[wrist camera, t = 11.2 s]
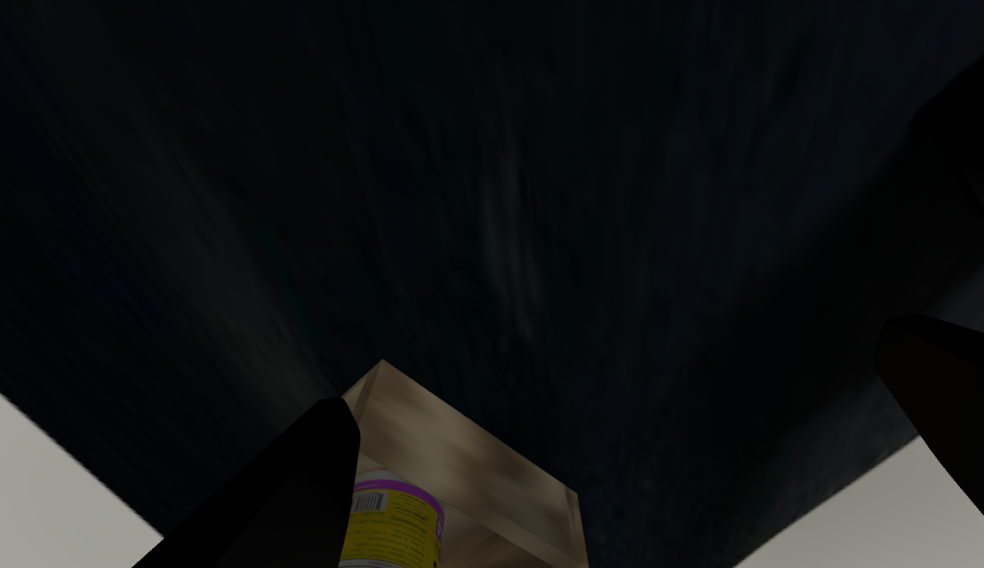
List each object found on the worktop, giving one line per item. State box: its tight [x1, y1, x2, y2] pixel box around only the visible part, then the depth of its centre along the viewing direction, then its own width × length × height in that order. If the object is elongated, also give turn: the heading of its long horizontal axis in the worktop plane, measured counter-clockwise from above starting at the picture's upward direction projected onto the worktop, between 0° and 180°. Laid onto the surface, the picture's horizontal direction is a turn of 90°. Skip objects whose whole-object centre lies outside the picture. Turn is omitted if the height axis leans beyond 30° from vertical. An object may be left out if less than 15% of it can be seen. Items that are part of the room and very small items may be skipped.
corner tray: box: [341, 359, 589, 568], centre depth 26 cm, size 15×16×4 cm
